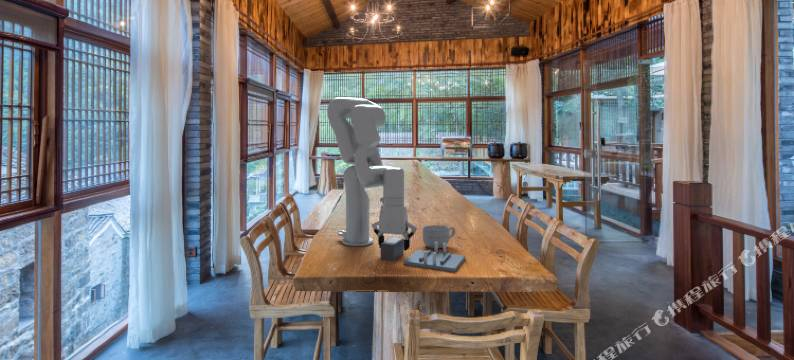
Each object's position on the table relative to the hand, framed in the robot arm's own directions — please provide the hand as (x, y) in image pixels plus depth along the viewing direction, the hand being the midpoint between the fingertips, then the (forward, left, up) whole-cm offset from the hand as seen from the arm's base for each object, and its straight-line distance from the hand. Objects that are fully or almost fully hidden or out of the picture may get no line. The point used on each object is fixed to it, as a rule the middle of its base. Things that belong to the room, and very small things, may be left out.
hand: (393, 248), depth 149 cm
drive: (-1, 0, -3) cm, 4 cm away
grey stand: (+15, +1, -3) cm, 16 cm away
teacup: (+11, +20, -4) cm, 24 cm away
